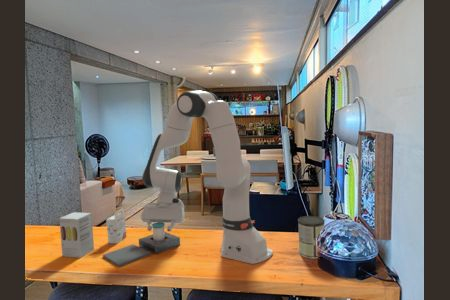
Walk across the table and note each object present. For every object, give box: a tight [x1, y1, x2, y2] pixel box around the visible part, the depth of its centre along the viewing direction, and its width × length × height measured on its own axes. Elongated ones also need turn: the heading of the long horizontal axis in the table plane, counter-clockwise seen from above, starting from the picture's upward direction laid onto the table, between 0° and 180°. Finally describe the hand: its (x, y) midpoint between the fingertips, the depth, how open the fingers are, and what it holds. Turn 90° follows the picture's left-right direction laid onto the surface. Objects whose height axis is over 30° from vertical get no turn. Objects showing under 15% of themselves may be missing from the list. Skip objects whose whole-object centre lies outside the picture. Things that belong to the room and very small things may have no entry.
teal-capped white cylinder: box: [151, 222, 166, 242], centre depth 139 cm, size 5×5×10 cm
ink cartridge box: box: [105, 208, 127, 244], centre depth 148 cm, size 9×5×15 cm, turn 168°
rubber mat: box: [102, 243, 151, 268], centre depth 130 cm, size 14×14×1 cm
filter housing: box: [138, 231, 181, 255], centre depth 139 cm, size 13×13×4 cm
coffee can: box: [297, 215, 326, 260], centre depth 125 cm, size 10×10×14 cm
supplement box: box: [58, 211, 95, 259], centre depth 135 cm, size 10×9×17 cm
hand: (159, 230), depth 140 cm, fingers open, 8 cm apart
